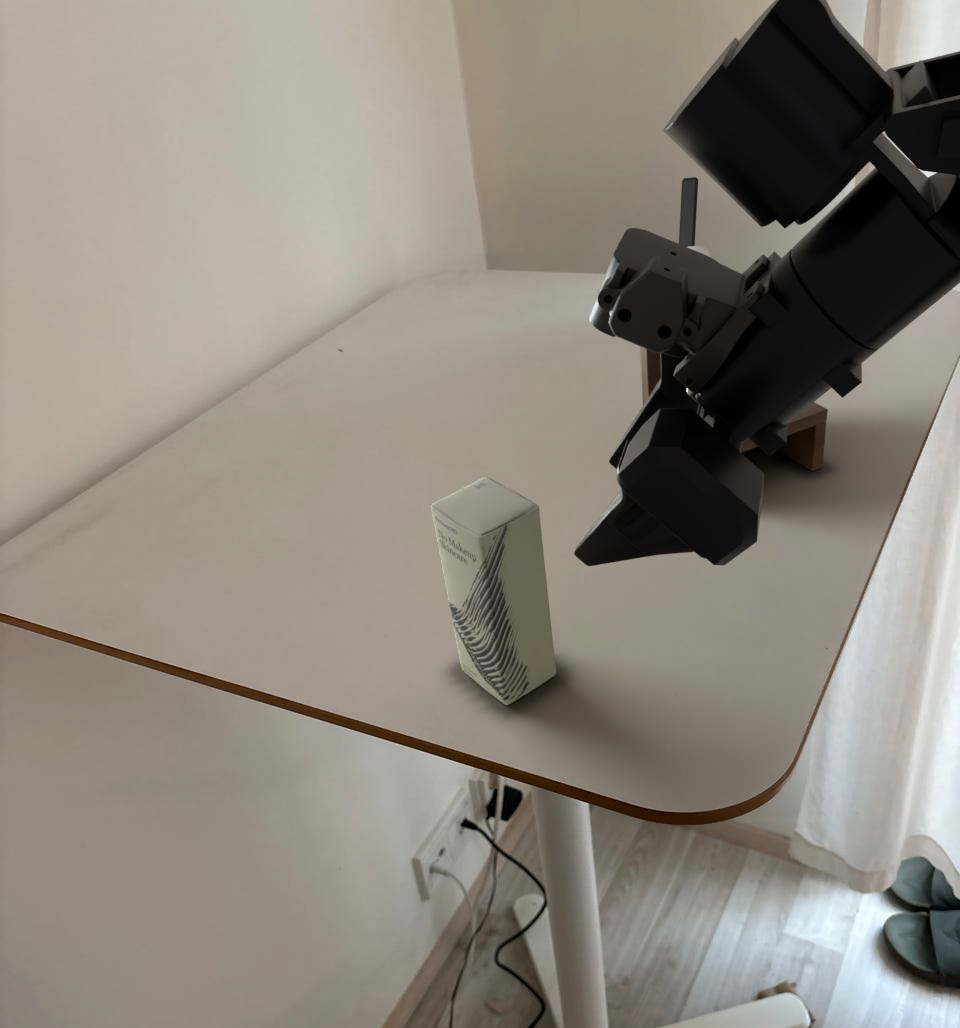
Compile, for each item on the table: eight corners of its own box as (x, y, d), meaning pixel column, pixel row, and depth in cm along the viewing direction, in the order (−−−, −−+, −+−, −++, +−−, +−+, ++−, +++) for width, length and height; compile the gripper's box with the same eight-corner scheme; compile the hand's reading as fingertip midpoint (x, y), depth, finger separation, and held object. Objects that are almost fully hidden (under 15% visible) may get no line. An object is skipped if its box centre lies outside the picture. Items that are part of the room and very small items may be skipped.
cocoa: (680, 330, 99) (678, 209, 91) (632, 320, 103) (626, 203, 95) (733, 298, 103) (735, 179, 96) (685, 289, 107) (683, 175, 100)
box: (459, 671, 62) (422, 502, 54) (512, 639, 64) (484, 471, 56) (509, 711, 58) (477, 536, 50) (563, 676, 60) (541, 501, 52)
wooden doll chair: (822, 467, 74) (835, 317, 67) (713, 509, 72) (714, 358, 65) (746, 421, 82) (750, 281, 74) (644, 457, 80) (638, 317, 72)
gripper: (723, 111, 46) (528, 338, 56) (667, 243, 32) (424, 509, 43) (880, 269, 48) (665, 458, 59) (889, 452, 35) (608, 656, 45)
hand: (599, 509), depth 51 cm, fingers open, 9 cm apart
